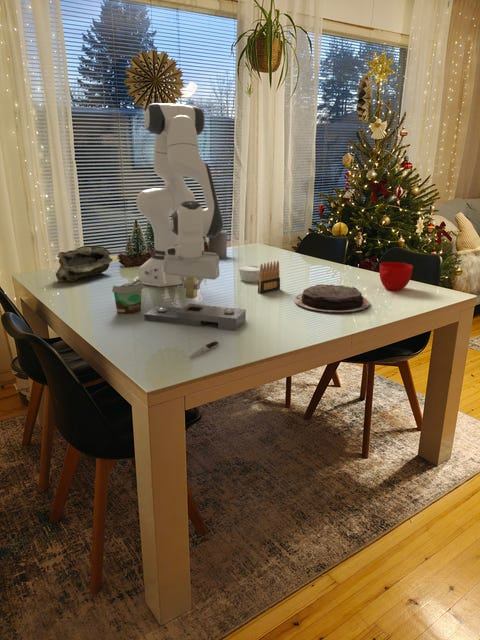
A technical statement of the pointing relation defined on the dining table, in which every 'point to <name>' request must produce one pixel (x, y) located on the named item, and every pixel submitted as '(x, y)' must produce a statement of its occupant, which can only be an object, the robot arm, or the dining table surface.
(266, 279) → the ammunition clip
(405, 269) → the ceramic cup
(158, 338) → the dining table surface
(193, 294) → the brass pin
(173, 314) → the lower chain end
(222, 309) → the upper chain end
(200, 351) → the pocket knife
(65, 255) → the hollow geode rock
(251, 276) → the ramekin
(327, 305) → the chocolate cake
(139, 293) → the food container
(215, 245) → the pillar candle
